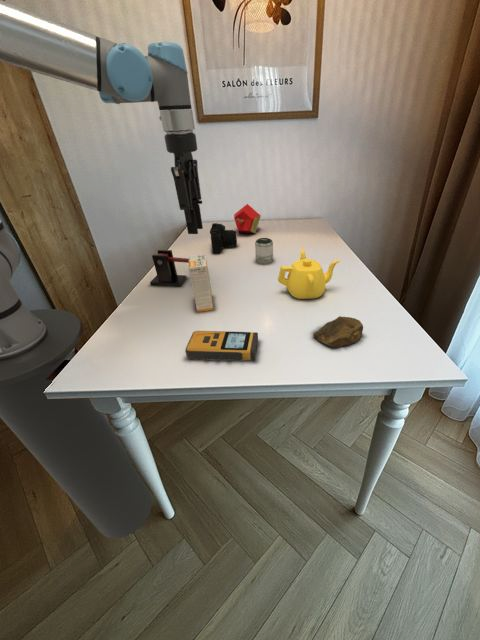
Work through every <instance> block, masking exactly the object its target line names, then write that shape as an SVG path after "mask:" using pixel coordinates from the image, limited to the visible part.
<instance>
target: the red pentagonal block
mask: <svg viewBox="0 0 480 640" xmlns="http://www.w3.org/2000/svg"><path fill="white" fill-rule="evenodd" d="M261 216H262V215H261V214H260V213H258V212H257V210H255V209H254V208H253V207H252V206H250V204H248V203H246V204H245V205H243V207H242V208H240V209H239V210H238V211H237V212H235V213H234V214H233V220H234V222H235V226H236V229H237V231H238V233H246V234H256V233H257V229H258V226H259V223H260V219H261V218H262V217H261Z"/></svg>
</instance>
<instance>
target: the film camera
mask: <svg viewBox="0 0 480 640" xmlns="http://www.w3.org/2000/svg"><path fill="white" fill-rule="evenodd" d="M209 234H210V242H211V243H210V244H211V249H212V254H214V255H220V254H222V252H223V249H225V248H227V247H228V248H229V247H236V246H237V245H238V236H237V231H236V230H234V229H226V226H225V225H224V224H222V223H218V222H216V223H214V222H213V223H212V225H211V227H210V229H209Z"/></svg>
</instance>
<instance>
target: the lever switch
mask: <svg viewBox="0 0 480 640" xmlns="http://www.w3.org/2000/svg"><path fill="white" fill-rule="evenodd" d="M157 255H167V258H168V262H169V261H173V262H174V263H186V264H189V257H187V258H185V257H175V256H173V257H169V255H168V254H164V253H160V254H158V253H157Z"/></svg>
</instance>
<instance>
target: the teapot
mask: <svg viewBox="0 0 480 640" xmlns="http://www.w3.org/2000/svg"><path fill="white" fill-rule="evenodd" d="M340 262H341V259H336V260H333V261H332V262H331V263H330V264H329V266H328V269H327V271H326V272H324V270H323V268H322V266H321V264H320V262H319V261H318V260H316V259H310V258H306V251H305V249H303V248H301V249H300V257H299V259H298V260H295V261H293V263H292V265H288V266H287V265H281V266H280V269H279V273H278V277H277V281H278V283H280V284H282V285H283V286H285V287H286V288H287V290H288V292H289V293H290V295H291V296H292V297H293V298H295V299H301V300H302V299H303V300H305V299H317V298H319V297H321V296H322V295H323V294H324V292H325V291H326V284H328V283H329V282H330V281H331V280H332V277H333V273H334V269H335V267H336V265H337V264H338V263H340ZM286 272H287V273H288V274H287V278H286Z"/></svg>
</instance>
